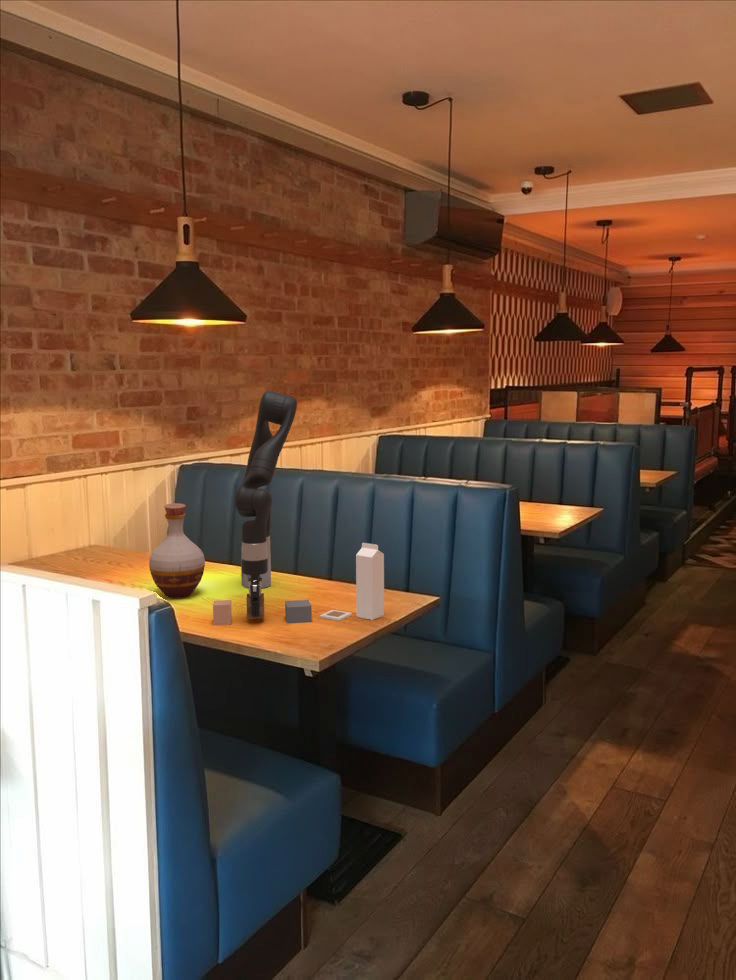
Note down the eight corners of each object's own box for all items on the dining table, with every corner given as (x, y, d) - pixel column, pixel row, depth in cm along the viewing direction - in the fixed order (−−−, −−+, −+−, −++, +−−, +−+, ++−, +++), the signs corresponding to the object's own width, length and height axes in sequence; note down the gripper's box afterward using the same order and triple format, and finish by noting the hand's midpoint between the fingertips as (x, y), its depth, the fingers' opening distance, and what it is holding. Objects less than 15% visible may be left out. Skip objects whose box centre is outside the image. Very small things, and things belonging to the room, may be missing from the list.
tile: (319, 617, 247) (319, 614, 247) (332, 611, 253) (332, 609, 253) (339, 620, 243) (339, 618, 243) (351, 614, 249) (351, 612, 249)
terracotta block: (213, 625, 240) (212, 605, 239) (214, 620, 245) (214, 600, 244) (231, 624, 240) (230, 604, 240) (231, 619, 245) (231, 600, 245)
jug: (143, 591, 279) (139, 502, 274) (196, 584, 287) (193, 498, 283) (157, 605, 261) (153, 510, 257) (212, 597, 269) (209, 506, 265)
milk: (368, 612, 252) (368, 540, 249) (384, 615, 248) (384, 543, 246) (356, 616, 247) (355, 544, 244) (372, 620, 244) (371, 546, 241)
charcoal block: (287, 624, 241) (287, 607, 240) (285, 617, 248) (285, 601, 247) (311, 622, 242) (311, 606, 242) (308, 615, 249) (308, 599, 249)
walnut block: (246, 618, 241) (246, 598, 240) (247, 613, 246) (246, 593, 245) (264, 617, 242) (263, 597, 241) (264, 612, 247) (264, 593, 246)
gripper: (267, 562, 235) (268, 620, 237) (267, 551, 249) (268, 606, 251) (240, 562, 234) (242, 621, 236) (242, 551, 248) (243, 606, 250)
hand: (255, 613), depth 244 cm, fingers closed on walnut block, 5 cm apart
